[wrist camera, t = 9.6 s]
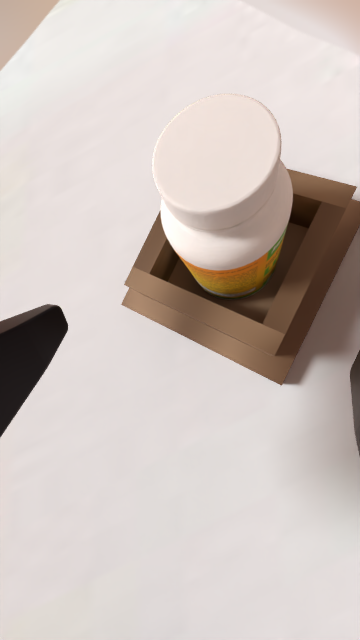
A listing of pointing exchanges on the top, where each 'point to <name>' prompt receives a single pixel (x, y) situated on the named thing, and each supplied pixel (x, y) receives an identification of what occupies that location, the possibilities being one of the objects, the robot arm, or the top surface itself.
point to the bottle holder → (267, 304)
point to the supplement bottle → (224, 193)
